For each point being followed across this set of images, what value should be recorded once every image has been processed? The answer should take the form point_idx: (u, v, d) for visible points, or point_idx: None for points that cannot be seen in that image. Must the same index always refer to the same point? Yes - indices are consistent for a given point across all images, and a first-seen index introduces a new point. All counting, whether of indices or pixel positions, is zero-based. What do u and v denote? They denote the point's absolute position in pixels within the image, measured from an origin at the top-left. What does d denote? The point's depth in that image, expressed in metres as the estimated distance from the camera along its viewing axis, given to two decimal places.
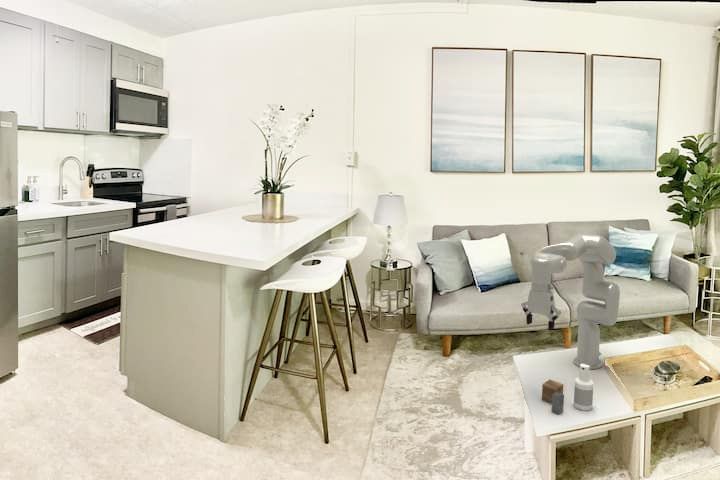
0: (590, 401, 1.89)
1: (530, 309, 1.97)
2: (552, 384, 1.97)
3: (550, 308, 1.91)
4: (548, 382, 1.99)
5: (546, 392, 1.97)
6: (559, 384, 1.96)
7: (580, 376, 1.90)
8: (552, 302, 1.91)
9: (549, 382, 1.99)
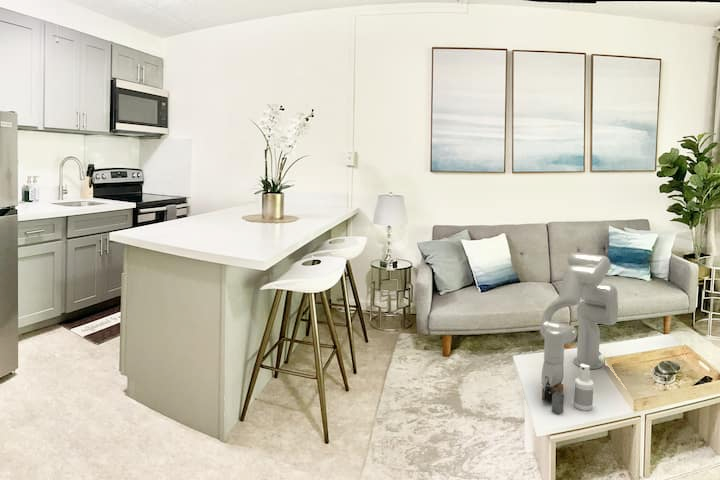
0: (590, 401, 1.89)
1: (553, 384, 1.93)
2: None
3: None
4: None
5: None
6: (559, 384, 1.96)
7: (580, 376, 1.90)
8: None
9: None
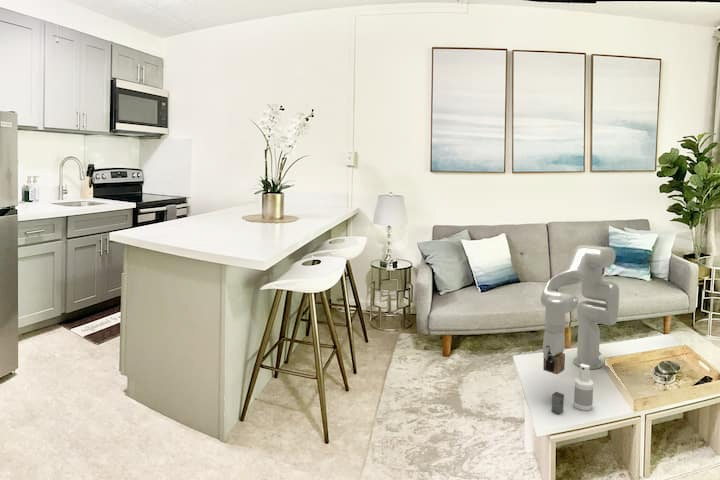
0: (590, 401, 1.89)
1: (555, 353, 1.91)
2: None
3: None
4: None
5: None
6: (561, 354, 1.94)
7: (580, 376, 1.90)
8: None
9: None
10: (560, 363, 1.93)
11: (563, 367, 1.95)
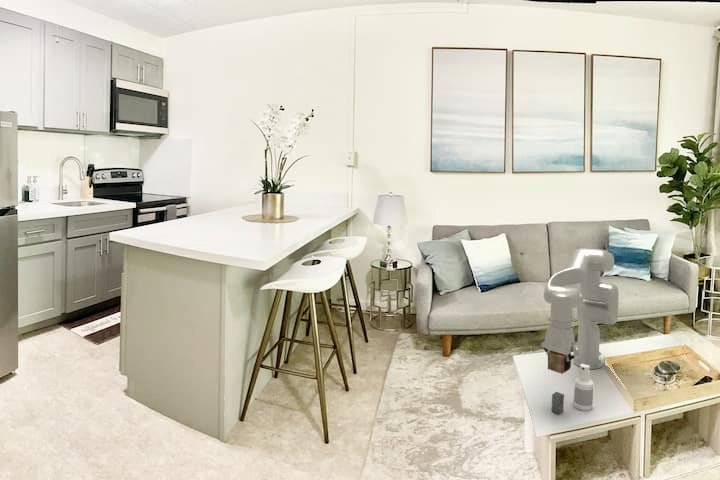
0: (590, 401, 1.89)
1: None
2: None
3: None
4: (556, 353, 1.84)
5: None
6: None
7: (580, 376, 1.90)
8: None
9: (557, 353, 1.84)
10: None
11: None
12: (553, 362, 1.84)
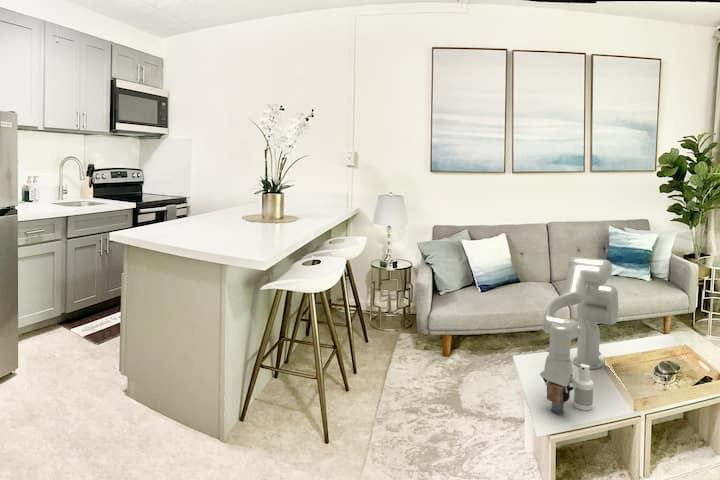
0: (590, 401, 1.89)
1: None
2: None
3: None
4: (555, 384, 1.86)
5: (563, 393, 1.85)
6: None
7: (580, 376, 1.90)
8: None
9: (556, 384, 1.86)
10: None
11: None
12: (552, 392, 1.87)
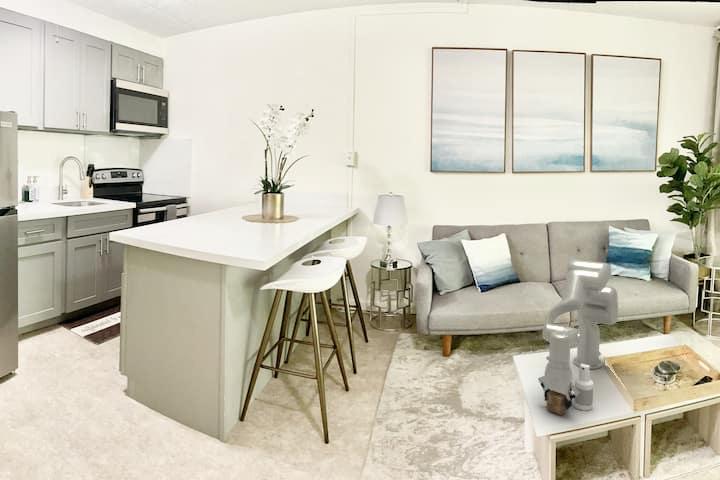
0: (590, 401, 1.89)
1: None
2: (560, 393, 1.88)
3: None
4: (555, 394, 1.87)
5: (563, 403, 1.86)
6: None
7: (580, 376, 1.90)
8: None
9: (556, 394, 1.87)
10: None
11: None
12: (551, 403, 1.88)
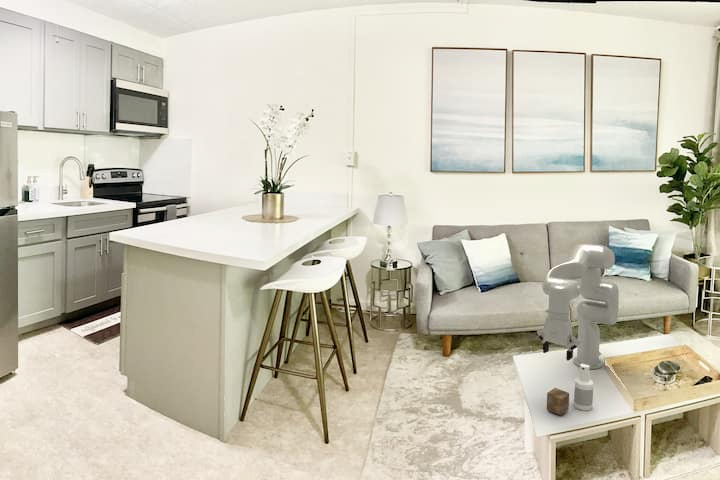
0: (590, 401, 1.89)
1: None
2: (560, 393, 1.88)
3: None
4: (555, 394, 1.87)
5: (563, 403, 1.86)
6: (557, 389, 1.91)
7: (580, 376, 1.90)
8: None
9: (556, 394, 1.87)
10: None
11: None
12: (551, 403, 1.88)
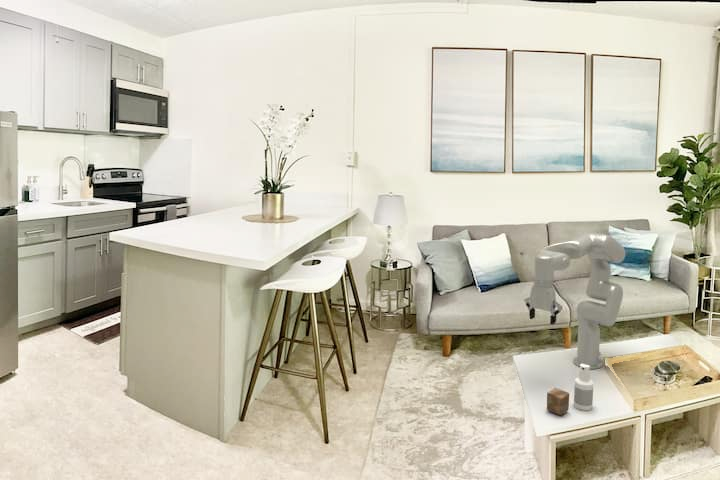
0: (590, 401, 1.89)
1: None
2: (560, 393, 1.88)
3: None
4: (555, 394, 1.87)
5: (563, 403, 1.86)
6: (557, 389, 1.91)
7: (580, 376, 1.90)
8: None
9: (556, 394, 1.87)
10: None
11: None
12: (551, 403, 1.88)
